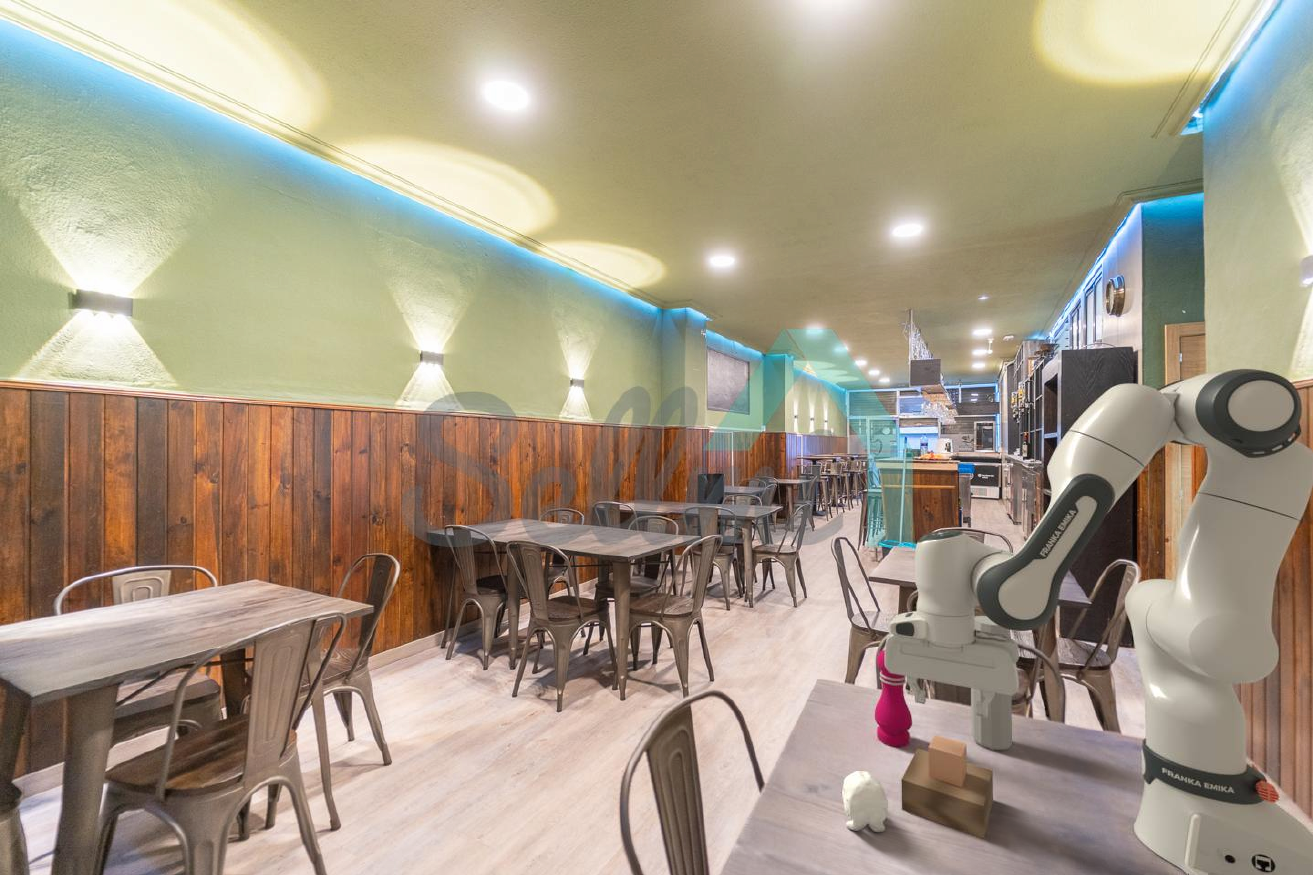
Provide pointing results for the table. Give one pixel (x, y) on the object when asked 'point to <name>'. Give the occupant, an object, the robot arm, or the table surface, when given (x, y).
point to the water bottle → (992, 705)
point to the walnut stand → (948, 796)
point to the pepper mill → (892, 708)
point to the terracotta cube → (947, 760)
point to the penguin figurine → (864, 801)
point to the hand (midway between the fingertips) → (950, 708)
